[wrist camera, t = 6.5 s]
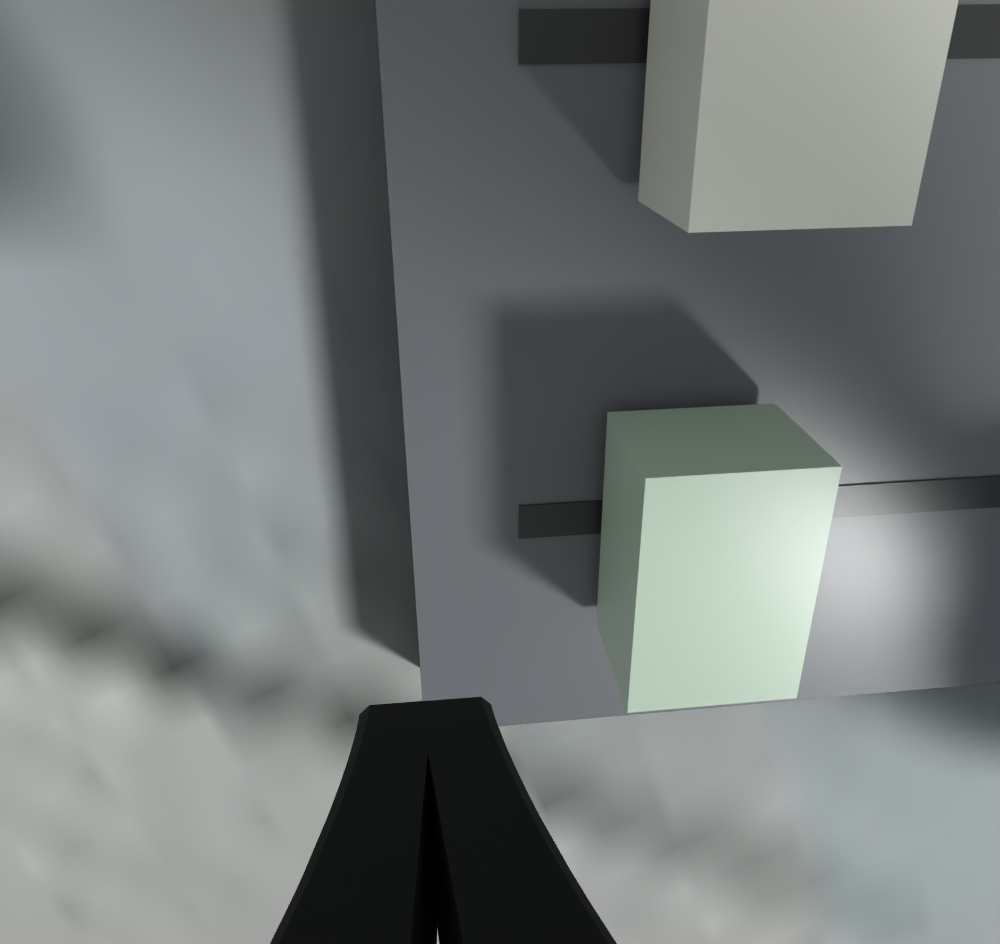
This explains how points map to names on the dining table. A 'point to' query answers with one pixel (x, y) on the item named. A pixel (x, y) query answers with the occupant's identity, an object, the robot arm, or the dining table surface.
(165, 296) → the dining table surface
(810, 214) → the block
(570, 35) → the console
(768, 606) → the sage fader
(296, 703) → the dining table surface
